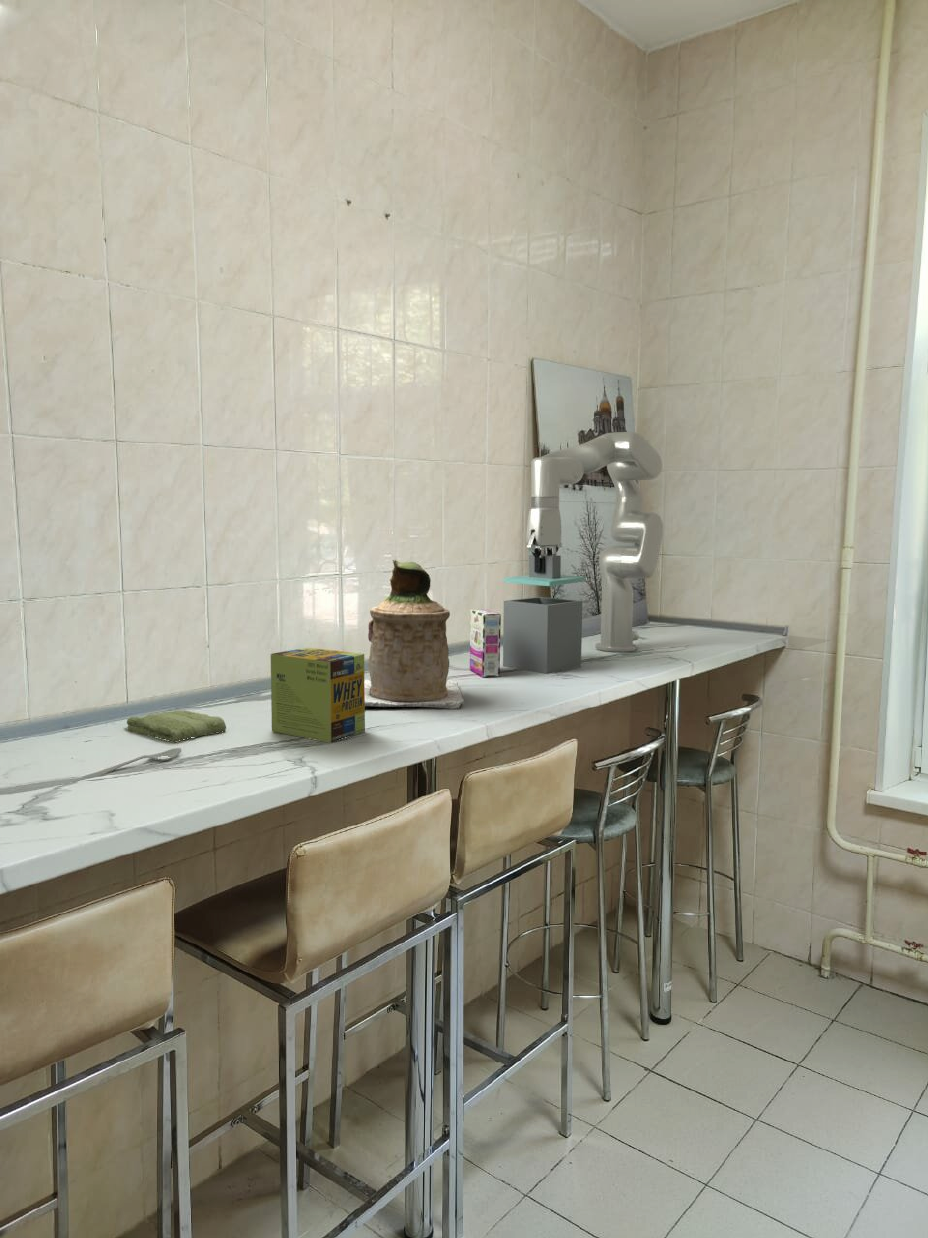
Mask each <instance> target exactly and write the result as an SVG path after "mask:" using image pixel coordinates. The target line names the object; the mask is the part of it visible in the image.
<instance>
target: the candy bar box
mask: <svg viewBox="0 0 928 1238" xmlns="http://www.w3.org/2000/svg"><path fill="white" fill-rule="evenodd" d="M469 611H470V618H469V619H470V623H469V626H470V627H469V629H470V630H469V670H470V671H471V672H472V673H474V674H476V675H478V676H479V677H481V678H499V677H500V672H501V671H500V669H501V668H500V667H501V665H500V663H501V628H502V627H501V626H502V625H501V624H502V623H501V621H502V613H501V614H500V613H498V612H495V611H492V610H489V609H470V610H469Z"/></svg>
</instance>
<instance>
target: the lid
mask: <svg viewBox="0 0 928 1238" xmlns="http://www.w3.org/2000/svg"><path fill="white" fill-rule="evenodd" d="M561 557H562V556H561V555H546V554H544V557H543V558H545V573H535V572H534V558H533V554H529V555H528V574H526V575H524V574H523V575H517V576H508V577H503V583H508V584H509V583H510V584H518V585H519V584H521V585H531V586H541V587H542V586H543V587H545V586H546V587H553V586H554V587H555V586H562V585H569V584H577V583H583V582H586V576H575V575H564V574H561V569H562V568H561V567H562V566H561V565H562V564H561V562H562V560H561V559H562V558H561Z"/></svg>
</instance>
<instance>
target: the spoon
mask: <svg viewBox="0 0 928 1238" xmlns="http://www.w3.org/2000/svg"><path fill="white" fill-rule="evenodd" d="M181 752H182V748H181V747H176V748H171V749H168V750H165V751H162V752H159V753H154V754H149V755H145V754H144V755H140V756H138V757H136V758H134V759H131V760H128V761H125V762H122V763H119V764H117V765H113V766H111V767H108V768H105V769H102V770H99V771H95V772H93V773H90V774H89V773H88V774H85V775H84V776H82V777H81V779H89V778H96V777H99V776H103V775H106V774H109V773H111V772H113V771H115V770H117V769H120V768H122V767H123V766H126V765H129V764H132V763H134V762H137V761H140V760H143V759H151V760H155V761H158V762H163V761H165V760H166V761H169V760H172V759H174V758H175V757H177V756H179V754H181ZM161 756H168V757H170V758H168V757H166V758H159V759H158V757H161Z"/></svg>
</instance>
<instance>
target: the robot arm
mask: <svg viewBox="0 0 928 1238" xmlns="http://www.w3.org/2000/svg"><path fill="white" fill-rule="evenodd" d="M530 464H531V466H530V467H531V468H530V473H531V474H530V509H529V510H528V516H527V522H526V536H525V539H526V541H525V542H526V545H527V546H526V548H527V550H529V551H530V552H531V555H533V558H534V572H535V573H545V558H543V557H544V555H557V554H558V551H559V549H560V548H561V547H562V546H563V544H562V520H561V511H560V486H569V485H571V486H572V485H575V484H577V483H579V482H580V481H581V479H582V478H583V476H584V474H589V473H594V472H597V471H599V470H600V469H602V468H605V467H606V469H607V473H608V475H609V477H610V479H611V481H612V483H613V486H614V490H615V496H616V497H615V504H614V509H613V514H612V519H611V525H610V536H611V538H612V540H614V541H616V542H619V543H624V544H626V543H627V544H628V543H629V544H639V546H629V545H611V546H608V547H605V548H604V549H603V550H602V551H601V552H600V555H599V559H598V562H599V570H600V576H601V608H600V609H601V611H600V612H601V615H600V618H601V619H600V642H598V643H596V644H595V649H596V650H599V651H604V652H614V653H615V652H617V653H619V652H620V653H622V652H624V653H625V652H626V653H627V652H634V651H637V649H638V645H636V644H634V641H638V640H639V639H640V636H639V635H638V633H635V634H634V633H633V624H634V623H633V620H634V619H633V618H634V617H633V616H634V615H633V613H634V589H633V587H632V584H631V581H630V580H629V579H639V580H641V579H642V580H645V579H650V578H651V577H653V575H654V574H655V572H656V570H657V567H658V562H659V556H660V552H661V546H662V540H663V536H664V535H663V534H664V524H663V519H662V517H661V516H660V515H659V514H658V513H656V512H653V511H644V504H645V494H644V492H643V489H642V488H641V486H640V485H639V484H638V482H637V481H651V480H655V479H657V478H658V477H659V476H660V475H661V473H662V469H663V460H662V457H661V456H660V453H659V452H658V451H657V450H656V449H655V447H653V446H652V445H651V443H650V442H649V441H648V440H647V439H646V438H645V437H643V436H642V434H640V433H638V432H635V431H622V432H621V431H619V432H617V431H616V432H607V433H604V434H602V435H599V436H598V437H595V438H593V439H591V440H589V441H587V442H584V443H580V444H576V445H573V446H570V447H565V448H563V449H559V450H555V451H552V452H549V453H547V454H545V455H542V456H539V457H535V458H534V457H533V459H532V460H531V463H530Z"/></svg>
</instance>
